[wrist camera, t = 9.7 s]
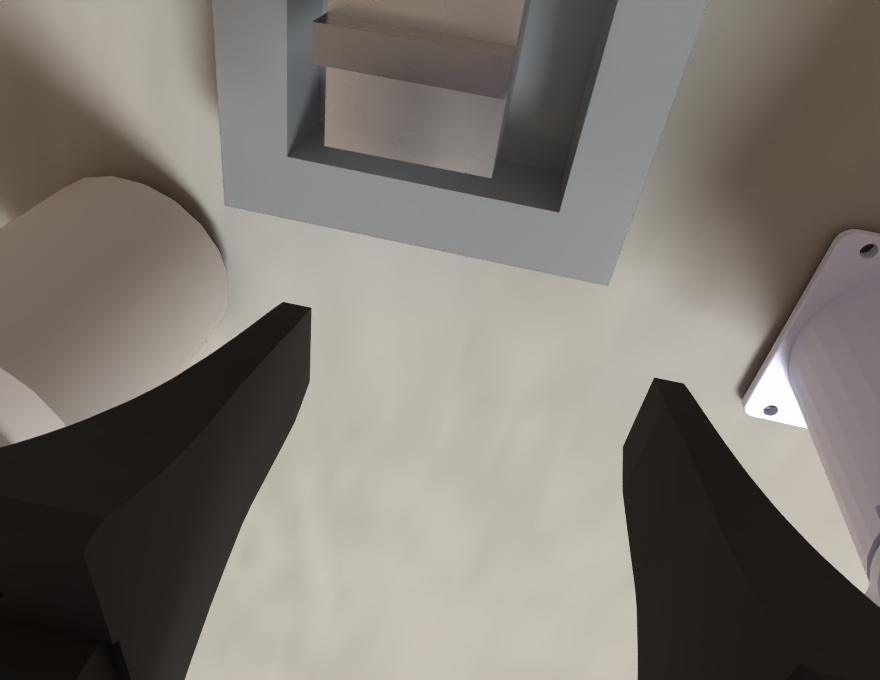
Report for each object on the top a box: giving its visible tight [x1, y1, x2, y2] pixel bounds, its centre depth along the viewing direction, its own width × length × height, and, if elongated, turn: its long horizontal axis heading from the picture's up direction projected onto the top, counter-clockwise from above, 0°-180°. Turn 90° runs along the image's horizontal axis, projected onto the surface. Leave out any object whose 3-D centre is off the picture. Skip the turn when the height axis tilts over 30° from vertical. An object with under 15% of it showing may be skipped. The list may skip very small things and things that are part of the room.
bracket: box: [312, 0, 531, 178], centre depth 16 cm, size 4×5×7 cm
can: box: [0, 176, 229, 447], centre depth 22 cm, size 8×8×12 cm
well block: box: [212, 0, 709, 286], centre depth 18 cm, size 12×12×4 cm
